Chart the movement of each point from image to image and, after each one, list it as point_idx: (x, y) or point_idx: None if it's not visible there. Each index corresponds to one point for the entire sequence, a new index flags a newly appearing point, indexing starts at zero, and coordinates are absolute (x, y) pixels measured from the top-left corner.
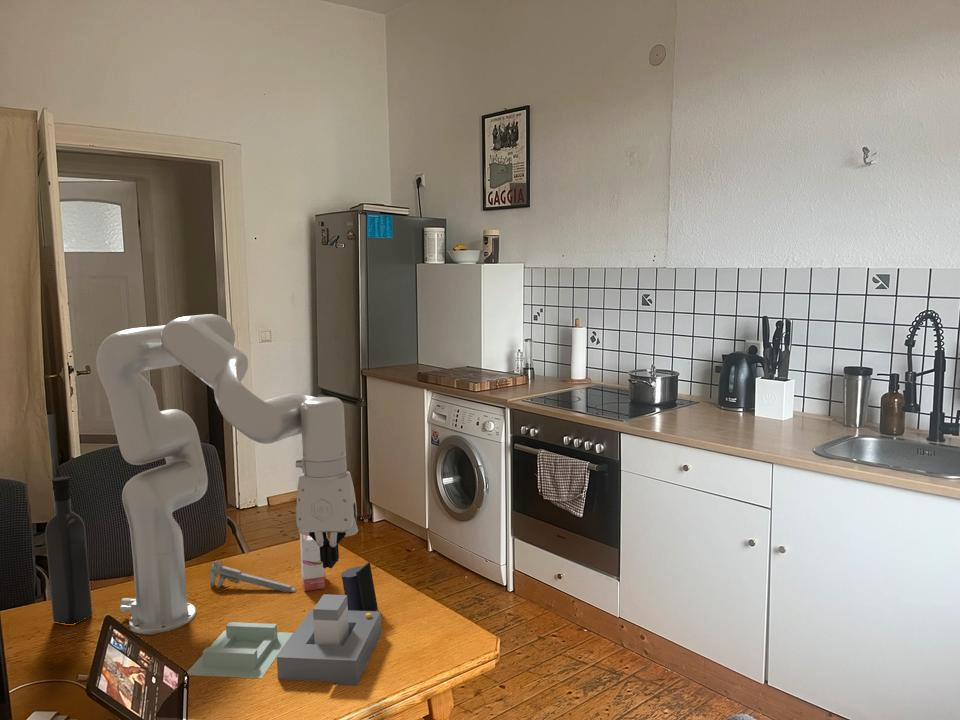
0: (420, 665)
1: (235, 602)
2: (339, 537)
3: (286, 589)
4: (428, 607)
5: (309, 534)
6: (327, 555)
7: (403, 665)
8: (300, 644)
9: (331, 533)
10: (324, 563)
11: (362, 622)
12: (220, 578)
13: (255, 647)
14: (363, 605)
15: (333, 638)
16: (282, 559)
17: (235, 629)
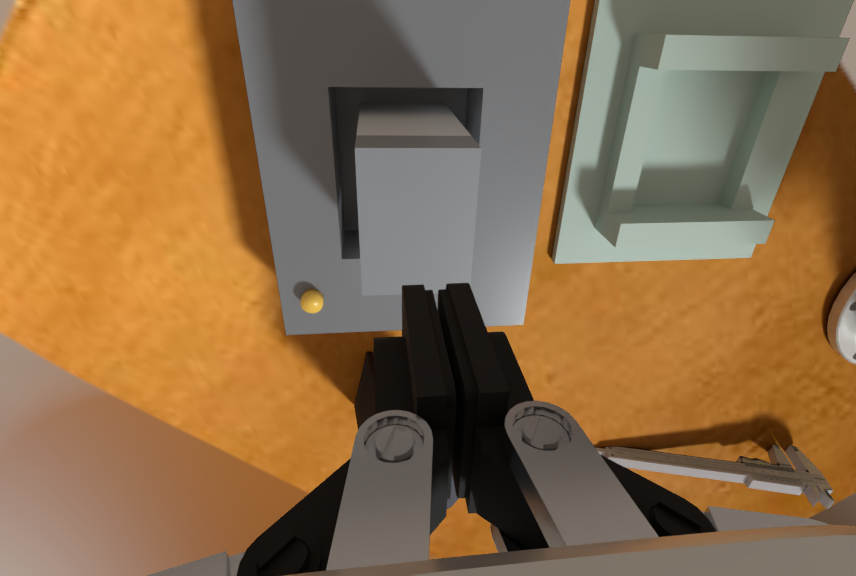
0: (84, 126)
1: (730, 391)
2: (320, 525)
3: (614, 451)
4: (219, 429)
5: (707, 520)
6: (442, 343)
7: (144, 121)
8: (502, 82)
9: (416, 560)
10: (460, 299)
11: (320, 261)
12: (786, 462)
13: (652, 172)
14: (373, 382)
15: (380, 118)
16: None
17: (737, 217)
